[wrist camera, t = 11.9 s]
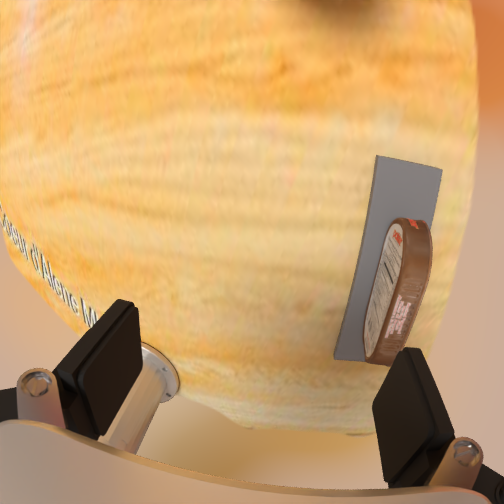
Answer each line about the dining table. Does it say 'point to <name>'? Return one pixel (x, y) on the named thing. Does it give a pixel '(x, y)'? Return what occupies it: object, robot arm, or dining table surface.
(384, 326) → the tin
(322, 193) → the dining table surface
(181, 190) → the dining table surface
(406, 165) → the charcoal mat
